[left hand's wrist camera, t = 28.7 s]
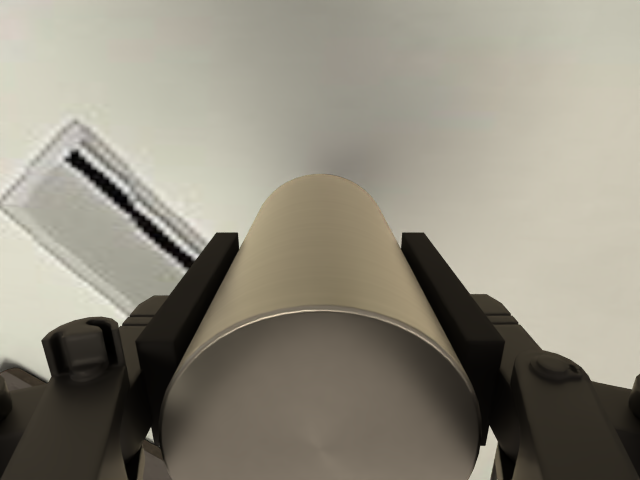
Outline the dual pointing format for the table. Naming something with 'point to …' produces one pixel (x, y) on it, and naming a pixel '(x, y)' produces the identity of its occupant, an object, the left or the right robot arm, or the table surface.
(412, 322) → the canister
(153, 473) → the toy
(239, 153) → the table surface
